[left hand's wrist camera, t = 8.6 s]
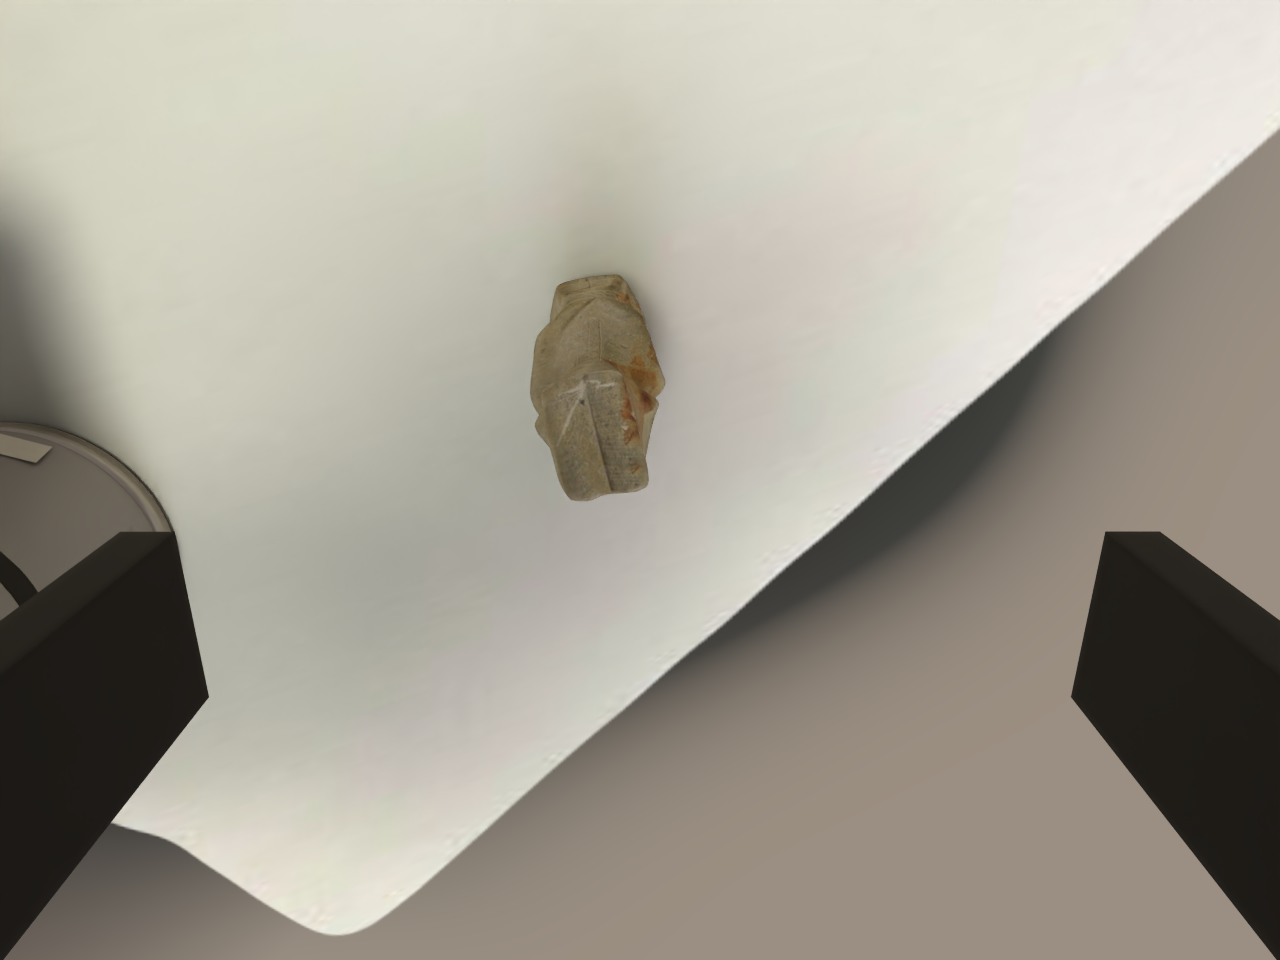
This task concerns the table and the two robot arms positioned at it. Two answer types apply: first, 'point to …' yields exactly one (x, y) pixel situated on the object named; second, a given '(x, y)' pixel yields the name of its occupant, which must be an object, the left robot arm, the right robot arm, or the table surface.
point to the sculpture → (596, 387)
